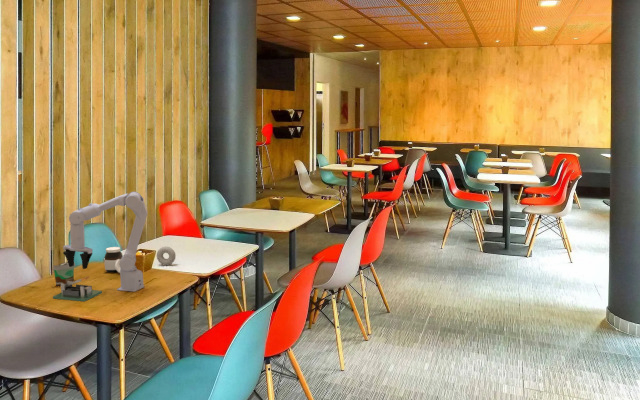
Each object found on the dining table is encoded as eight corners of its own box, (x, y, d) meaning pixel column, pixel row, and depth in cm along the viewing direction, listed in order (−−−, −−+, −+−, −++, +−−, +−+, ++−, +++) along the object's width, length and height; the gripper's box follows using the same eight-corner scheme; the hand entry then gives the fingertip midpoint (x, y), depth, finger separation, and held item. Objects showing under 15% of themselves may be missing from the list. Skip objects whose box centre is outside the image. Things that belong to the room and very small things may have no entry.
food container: (66, 287, 274) (64, 266, 273) (54, 286, 276) (52, 265, 274) (81, 280, 286) (80, 259, 285) (70, 279, 287) (68, 259, 286)
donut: (176, 264, 313) (176, 245, 312) (174, 266, 310) (174, 247, 309) (158, 264, 314) (157, 245, 313) (156, 265, 311) (155, 247, 309)
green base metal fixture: (53, 298, 258) (52, 286, 258) (71, 290, 270) (70, 278, 269) (84, 301, 254) (83, 288, 253) (102, 293, 265) (101, 280, 265)
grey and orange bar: (64, 287, 262) (63, 284, 262) (67, 285, 264) (66, 283, 264) (86, 279, 258) (85, 277, 258) (89, 278, 260) (88, 275, 260)
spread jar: (110, 268, 307) (109, 246, 305) (132, 268, 307) (131, 246, 305) (101, 274, 295) (99, 251, 293) (124, 274, 295) (122, 251, 293)
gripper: (57, 237, 263) (58, 267, 265) (84, 241, 258) (84, 271, 260) (69, 234, 269) (70, 263, 271) (95, 238, 264) (96, 267, 266)
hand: (78, 267), depth 266 cm, fingers open, 7 cm apart
